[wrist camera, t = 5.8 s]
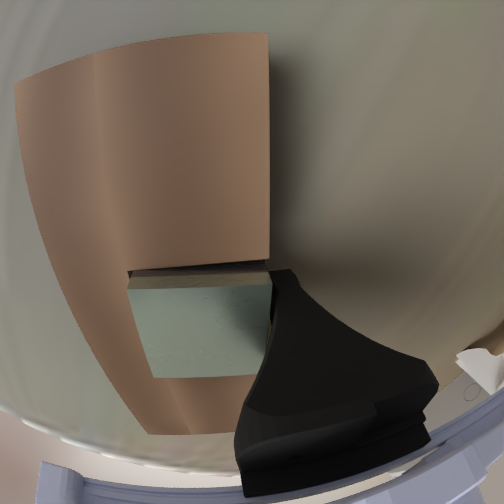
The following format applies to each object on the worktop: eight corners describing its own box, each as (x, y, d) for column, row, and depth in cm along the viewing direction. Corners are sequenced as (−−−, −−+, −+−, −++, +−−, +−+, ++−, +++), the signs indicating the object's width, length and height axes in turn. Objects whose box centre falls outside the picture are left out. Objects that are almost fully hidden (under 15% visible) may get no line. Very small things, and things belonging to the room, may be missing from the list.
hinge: (385, 439, 30) (397, 495, 21) (368, 428, 29) (380, 490, 20) (483, 365, 25) (517, 414, 16) (474, 348, 25) (513, 400, 15)
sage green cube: (252, 224, 11) (272, 284, 8) (249, 304, 13) (263, 373, 10) (150, 228, 11) (126, 289, 7) (163, 307, 13) (153, 377, 9)
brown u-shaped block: (251, 51, 8) (267, 32, 5) (257, 388, 17) (264, 428, 14) (59, 82, 7) (14, 83, 5) (151, 395, 16) (148, 434, 14)
